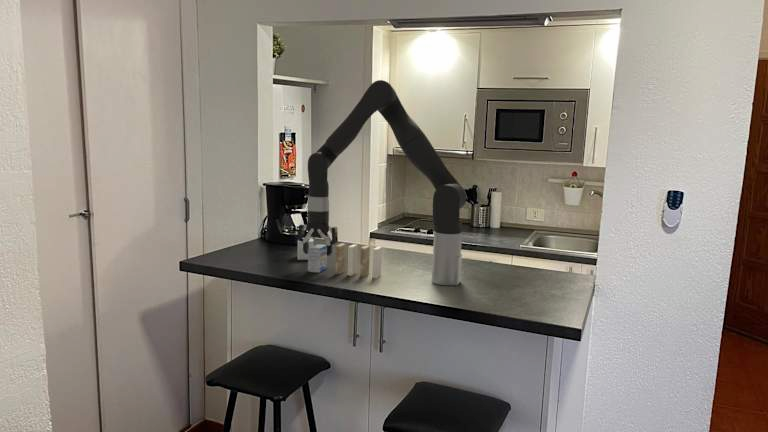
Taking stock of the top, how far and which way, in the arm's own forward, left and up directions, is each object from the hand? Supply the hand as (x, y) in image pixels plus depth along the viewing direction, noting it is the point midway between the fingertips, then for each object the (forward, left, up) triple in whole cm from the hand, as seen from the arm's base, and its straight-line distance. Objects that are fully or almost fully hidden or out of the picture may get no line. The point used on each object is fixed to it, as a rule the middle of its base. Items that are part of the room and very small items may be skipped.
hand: (317, 254), depth 208 cm
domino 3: (-18, 0, -6) cm, 19 cm away
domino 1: (-9, 0, -6) cm, 10 cm away
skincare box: (+12, -16, -6) cm, 21 cm away
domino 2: (-13, 0, -6) cm, 14 cm away
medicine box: (0, 0, -6) cm, 6 cm away
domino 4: (-22, 0, -6) cm, 23 cm away
